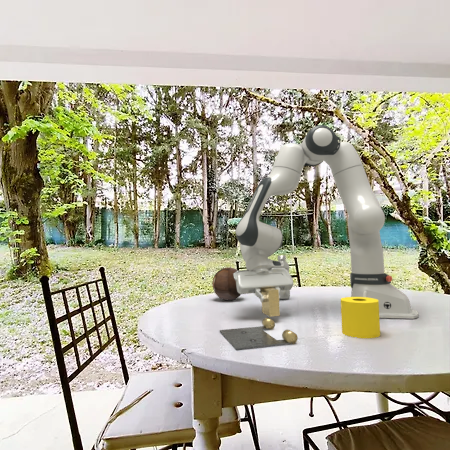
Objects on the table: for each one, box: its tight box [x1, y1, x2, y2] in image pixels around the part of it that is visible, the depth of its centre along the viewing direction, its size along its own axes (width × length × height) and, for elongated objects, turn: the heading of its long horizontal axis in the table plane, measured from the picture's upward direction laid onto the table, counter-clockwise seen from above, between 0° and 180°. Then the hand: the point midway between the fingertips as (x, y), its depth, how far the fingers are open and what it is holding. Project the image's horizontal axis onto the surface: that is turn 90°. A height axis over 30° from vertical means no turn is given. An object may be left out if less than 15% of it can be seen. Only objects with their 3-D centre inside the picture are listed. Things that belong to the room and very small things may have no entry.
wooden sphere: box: [211, 266, 242, 301], centre depth 154 cm, size 15×15×15 cm
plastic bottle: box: [277, 254, 291, 301], centre depth 153 cm, size 6×7×20 cm
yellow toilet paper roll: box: [340, 296, 381, 339], centre depth 95 cm, size 10×10×9 cm
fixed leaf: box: [219, 317, 299, 351], centre depth 93 cm, size 18×16×3 cm
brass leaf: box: [261, 287, 281, 318], centre depth 112 cm, size 7×4×8 cm, turn 14°
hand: (270, 300), depth 112 cm, fingers closed on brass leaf, 3 cm apart
